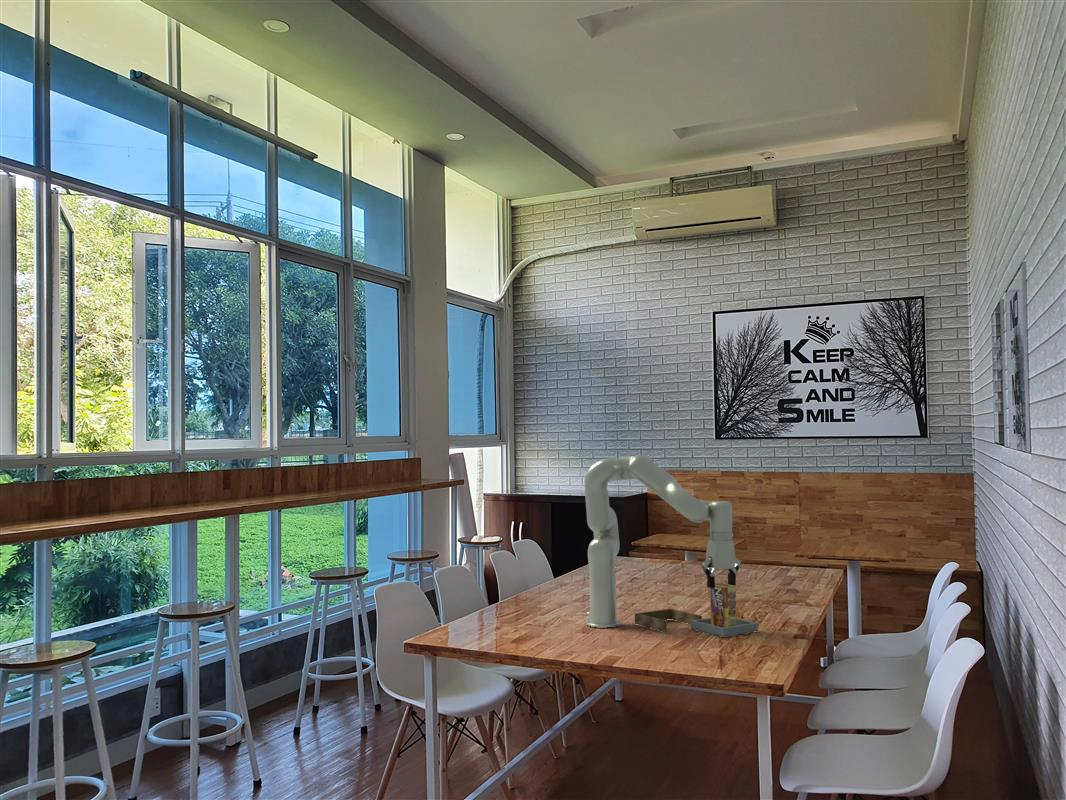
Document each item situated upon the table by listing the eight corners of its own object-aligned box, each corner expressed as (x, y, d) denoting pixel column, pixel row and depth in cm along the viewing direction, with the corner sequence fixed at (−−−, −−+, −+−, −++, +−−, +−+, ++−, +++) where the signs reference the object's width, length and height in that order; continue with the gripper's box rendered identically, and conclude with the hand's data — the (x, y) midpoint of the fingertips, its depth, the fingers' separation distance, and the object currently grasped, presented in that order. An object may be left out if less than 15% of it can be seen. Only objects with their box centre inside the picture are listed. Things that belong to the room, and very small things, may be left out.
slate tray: (690, 629, 284) (690, 620, 285) (725, 623, 293) (724, 615, 293) (723, 637, 271) (723, 628, 271) (758, 631, 279) (757, 623, 279)
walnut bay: (634, 624, 293) (634, 613, 294) (671, 619, 302) (671, 608, 302) (664, 633, 279) (664, 621, 279) (701, 627, 288) (701, 615, 288)
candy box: (737, 630, 279) (736, 585, 280) (728, 631, 277) (727, 586, 278) (719, 625, 287) (718, 581, 288) (710, 627, 285) (709, 582, 286)
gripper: (731, 534, 291) (732, 583, 290) (694, 536, 283) (695, 586, 282) (747, 536, 285) (747, 586, 284) (709, 539, 276) (710, 590, 275)
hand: (721, 586), depth 283 cm, fingers open, 9 cm apart
